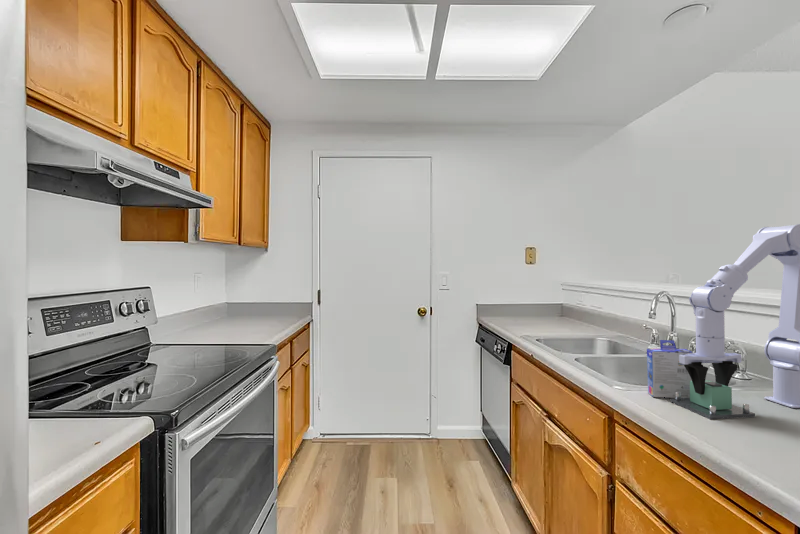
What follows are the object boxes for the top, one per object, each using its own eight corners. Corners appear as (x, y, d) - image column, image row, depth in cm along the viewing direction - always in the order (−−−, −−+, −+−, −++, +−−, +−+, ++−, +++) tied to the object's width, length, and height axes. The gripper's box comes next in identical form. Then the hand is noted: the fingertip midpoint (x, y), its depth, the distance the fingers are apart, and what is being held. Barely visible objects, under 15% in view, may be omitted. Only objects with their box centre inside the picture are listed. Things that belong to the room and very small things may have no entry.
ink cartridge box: (686, 393, 122) (685, 339, 122) (695, 399, 117) (694, 343, 117) (646, 392, 124) (645, 339, 124) (653, 397, 119) (652, 342, 119)
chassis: (710, 399, 116) (710, 389, 116) (755, 417, 103) (755, 405, 103) (670, 401, 115) (670, 391, 115) (710, 419, 102) (710, 407, 102)
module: (708, 400, 113) (708, 378, 113) (731, 408, 106) (731, 385, 106) (689, 401, 113) (689, 379, 113) (711, 409, 106) (711, 386, 106)
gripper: (694, 340, 105) (694, 399, 105) (752, 338, 106) (752, 396, 106) (672, 335, 112) (673, 390, 112) (727, 333, 113) (728, 388, 113)
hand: (710, 393), depth 109 cm, fingers closed on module, 5 cm apart
